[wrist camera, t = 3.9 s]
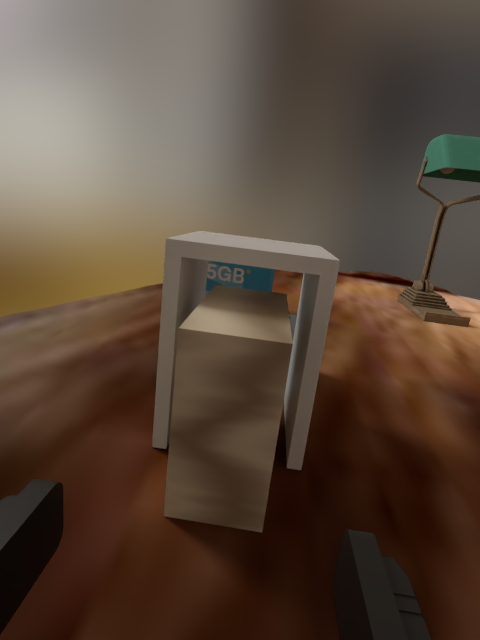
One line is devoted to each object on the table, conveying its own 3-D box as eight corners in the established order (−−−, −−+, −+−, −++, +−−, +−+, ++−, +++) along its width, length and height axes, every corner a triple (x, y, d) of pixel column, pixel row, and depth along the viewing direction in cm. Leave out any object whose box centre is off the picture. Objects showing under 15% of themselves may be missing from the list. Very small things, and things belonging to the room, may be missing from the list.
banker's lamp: (448, 307, 96) (489, 152, 86) (491, 331, 76) (550, 133, 66) (381, 298, 97) (415, 144, 88) (407, 320, 77) (454, 124, 68)
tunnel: (152, 447, 28) (165, 238, 24) (186, 382, 38) (199, 230, 35) (301, 470, 27) (340, 260, 23) (294, 398, 38) (320, 246, 34)
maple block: (163, 516, 22) (178, 328, 19) (202, 412, 33) (215, 284, 31) (261, 533, 22) (292, 343, 19) (266, 422, 33) (286, 294, 30)
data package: (198, 303, 70) (204, 234, 67) (207, 298, 74) (213, 234, 71) (264, 315, 67) (274, 244, 64) (269, 309, 72) (278, 243, 68)
